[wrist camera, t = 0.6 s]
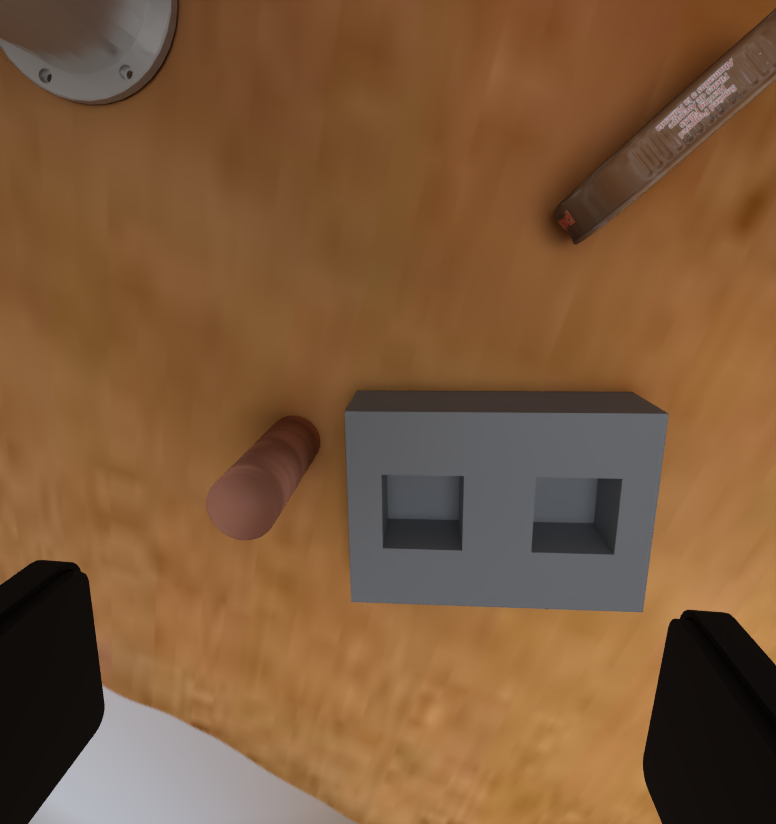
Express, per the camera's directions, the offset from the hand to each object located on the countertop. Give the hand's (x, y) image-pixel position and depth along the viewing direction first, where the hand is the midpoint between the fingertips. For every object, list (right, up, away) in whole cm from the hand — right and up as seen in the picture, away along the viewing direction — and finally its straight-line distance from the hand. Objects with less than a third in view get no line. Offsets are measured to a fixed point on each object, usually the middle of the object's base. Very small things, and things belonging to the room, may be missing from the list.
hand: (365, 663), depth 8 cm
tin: (+17, +21, +26) cm, 37 cm away
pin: (-7, +2, +32) cm, 33 cm away
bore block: (+8, -1, +32) cm, 33 cm away
